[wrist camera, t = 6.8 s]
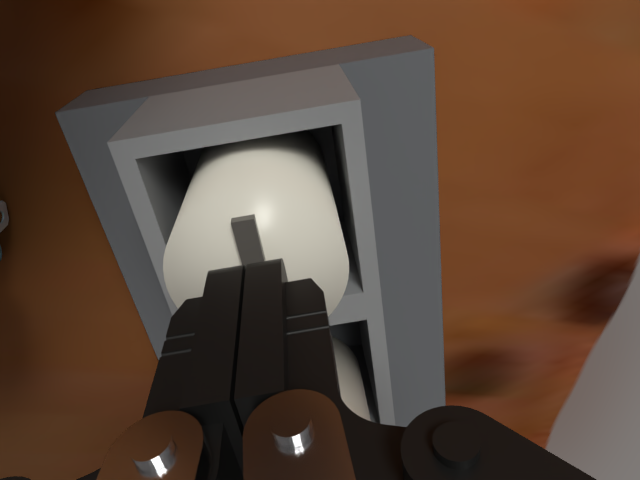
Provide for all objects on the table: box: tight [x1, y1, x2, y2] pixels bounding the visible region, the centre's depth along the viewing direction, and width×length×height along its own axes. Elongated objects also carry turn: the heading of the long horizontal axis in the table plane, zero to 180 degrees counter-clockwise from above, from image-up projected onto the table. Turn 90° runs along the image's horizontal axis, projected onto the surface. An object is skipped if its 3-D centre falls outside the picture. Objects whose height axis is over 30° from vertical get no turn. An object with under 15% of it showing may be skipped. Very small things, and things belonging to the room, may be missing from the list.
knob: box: [163, 130, 349, 316], centre depth 14 cm, size 4×4×6 cm
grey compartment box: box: [55, 35, 445, 427], centre depth 19 cm, size 18×12×8 cm, turn 8°
